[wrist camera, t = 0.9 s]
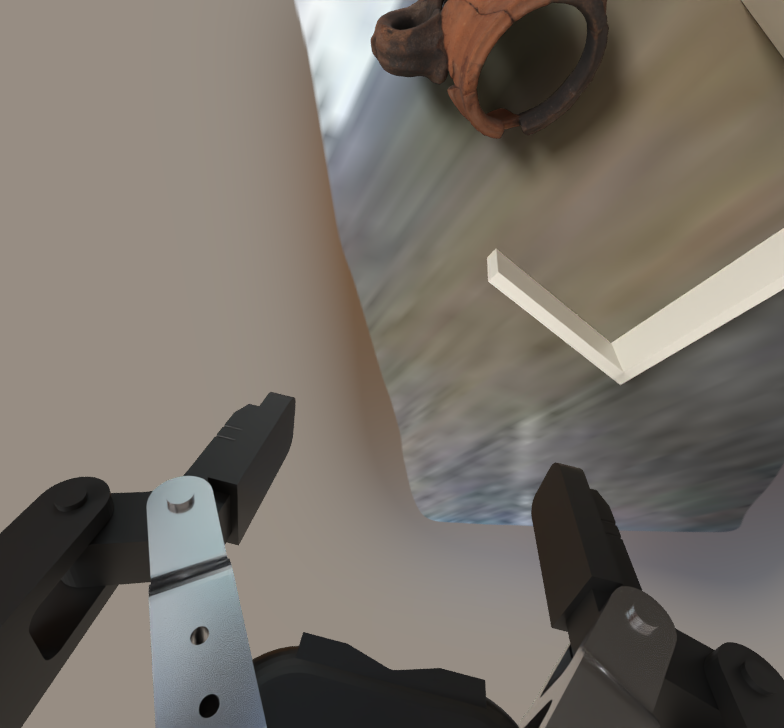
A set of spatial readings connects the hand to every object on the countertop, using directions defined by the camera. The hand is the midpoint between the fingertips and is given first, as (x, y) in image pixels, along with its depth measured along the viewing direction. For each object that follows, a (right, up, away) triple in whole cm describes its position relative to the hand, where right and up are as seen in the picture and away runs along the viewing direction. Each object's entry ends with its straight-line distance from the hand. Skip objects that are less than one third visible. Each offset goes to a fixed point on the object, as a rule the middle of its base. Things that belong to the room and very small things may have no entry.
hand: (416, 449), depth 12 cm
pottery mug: (+5, +23, +12) cm, 26 cm away
